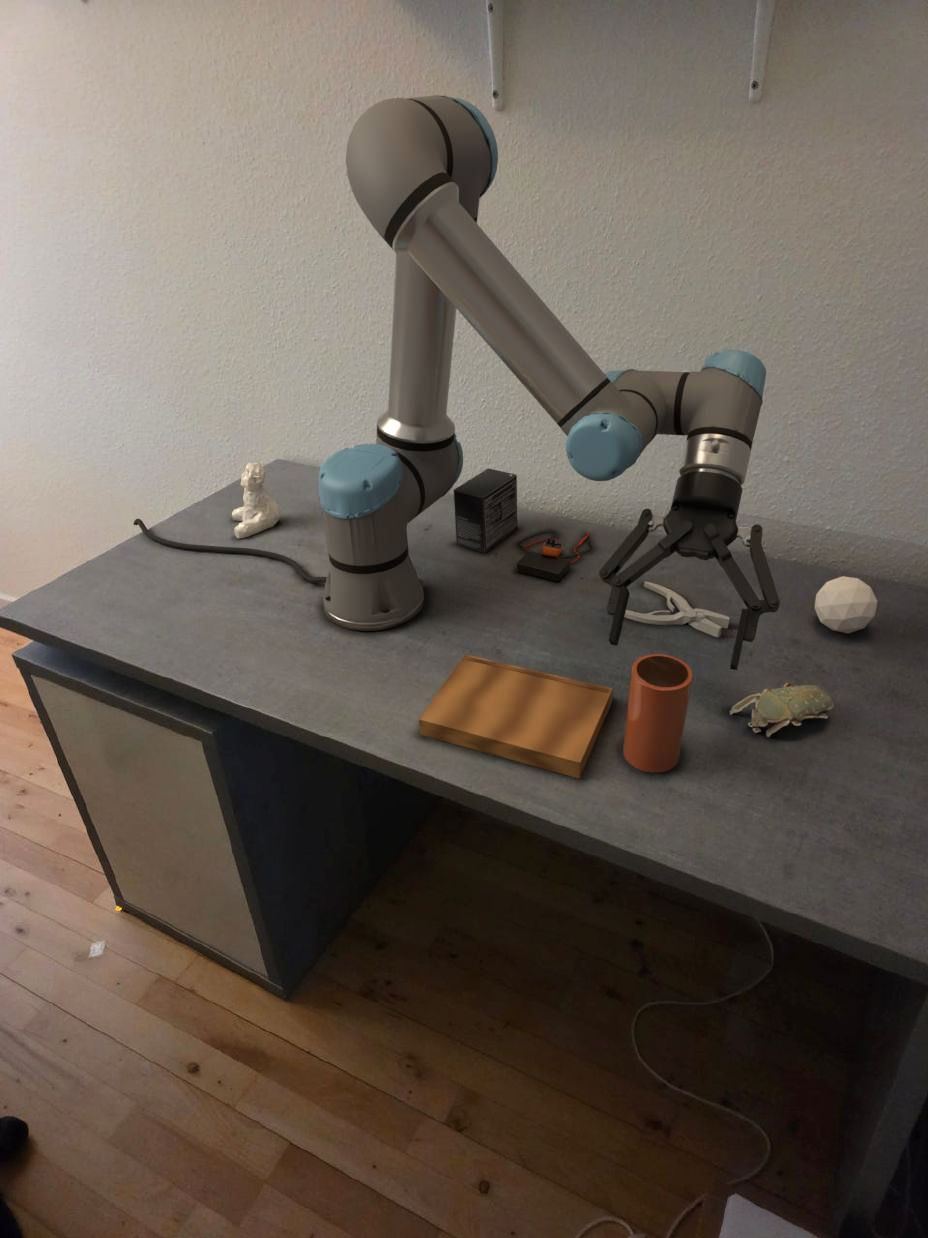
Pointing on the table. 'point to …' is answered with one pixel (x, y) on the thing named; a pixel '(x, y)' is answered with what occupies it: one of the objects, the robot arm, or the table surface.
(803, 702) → the decorative insect model
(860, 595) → the geometric ball
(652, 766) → the pen cup
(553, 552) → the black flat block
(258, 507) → the sitting furry creature
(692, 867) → the table surface
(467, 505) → the small box
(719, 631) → the pliers
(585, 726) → the oak board
